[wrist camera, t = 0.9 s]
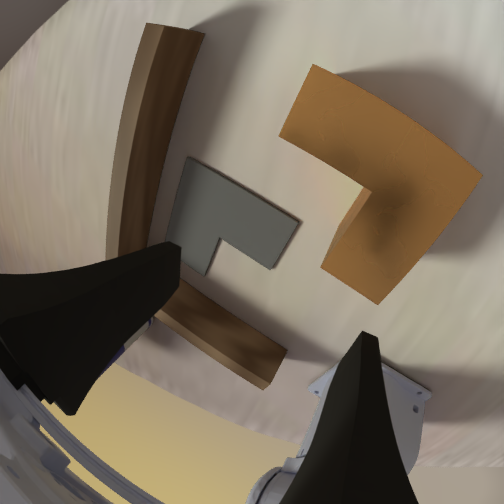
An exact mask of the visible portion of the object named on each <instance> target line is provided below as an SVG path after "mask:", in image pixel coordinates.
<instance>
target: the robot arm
mask: <svg viewBox="0 0 504 504" xmlns="http://www.w3.org/2000/svg"><path fill="white" fill-rule="evenodd" d="M181 249H182V247H181V246H178V245H176V244H174V243H172V242H170V241H167V242H163V243H160V244H157V245H153V246H150V247H147V248H144V249H141V250H138V251H135V252H132V253H129V254H126V255H123V256H120V257H116V258H113V259H109V260H106V261H102V262H99V263H95V264H92V265H88V266H83V267H79V268H74V269H69V270H62V271H55V272H47V273H37V274H0V504H113V503H112V502H110V501H109V500H107V499H106V498H105V497H103V496H102V495H101V494H99V493H98V492H97V491H95V490H94V489H93V488H91V487H90V486H89V485H87V484H86V483H85V482H84V481H82V480H81V479H80V478H79V477H78V476H77V475H75V474H74V473H73V472H72V471H71V470H69V469H68V468H67V466H68V465H69V463H70V459H69V458H68V457H67V456H66V455H65V454H64V453H63V452H62V451H61V450H60V449H59V448H58V447H57V446H56V445H55V444H54V443H53V442H52V441H51V440H50V439H49V438H47V437H46V436H45V435H44V434H43V433H42V432H41V431H40V429H39V428H40V425H41V426H42V427H43V428H44V429H45V430H46V431H47V432H48V433H49V434H50V435H51V436H52V437H53V438H54V439H55V440H56V441H57V442H58V443H59V444H60V445H61V446H62V447H63V448H64V449H65V450H66V451H67V452H68V453H69V454H70V455H71V456H72V457H74V459H76V460H77V461H78V462H79V463H80V464H81V465H82V466H83V467H84V468H86V469H87V470H88V471H89V472H91V473H92V474H93V475H94V476H95V477H96V478H98V479H99V480H100V481H101V482H103V483H104V484H105V485H107V486H108V487H109V488H110V489H112V490H113V491H114V492H116V493H117V494H119V495H120V496H121V497H123V498H124V499H126V500H127V501H128V502H130V503H132V504H164V503H163V502H161V501H159V500H157V499H156V498H154V497H153V496H151V495H150V494H148V493H146V492H145V491H143V490H142V489H140V488H139V487H138V486H136V485H135V484H133V483H132V482H130V481H129V480H127V479H126V478H125V477H123V476H122V475H121V474H119V473H118V472H117V471H115V470H114V469H113V468H111V467H110V466H109V465H107V464H106V463H105V462H104V461H102V460H101V459H100V458H99V457H97V456H96V455H95V454H94V453H93V452H92V451H90V450H89V449H88V448H87V447H86V446H84V445H83V444H82V443H81V442H80V441H79V440H78V439H77V438H76V437H75V436H73V435H72V434H71V433H70V432H69V431H68V430H67V429H66V428H65V427H64V426H63V425H62V424H61V423H60V422H59V421H58V420H57V419H56V418H55V417H54V416H53V415H52V414H51V413H50V412H49V411H48V409H46V407H45V406H44V405H43V404H42V403H41V401H42V400H43V399H45V400H46V401H47V402H48V403H49V404H52V403H53V402H54V403H55V404H56V405H57V406H58V407H59V408H60V409H61V410H62V411H63V412H64V413H65V414H66V415H69V416H71V415H75V414H76V412H77V410H78V408H79V407H80V405H81V403H82V401H83V400H84V398H85V397H86V395H87V393H88V392H89V390H90V389H91V387H92V385H93V384H94V383H95V381H96V380H97V378H98V377H99V375H100V374H101V373H102V371H103V370H104V369H105V367H106V366H107V365H108V363H109V362H110V361H111V360H112V358H113V357H114V356H115V355H116V353H117V352H118V351H119V350H120V348H121V347H122V346H123V345H124V344H125V343H126V342H127V341H128V340H129V339H130V338H131V337H132V336H133V335H134V334H135V333H136V332H137V331H138V330H139V329H140V328H141V327H142V326H143V325H144V324H145V323H146V322H147V321H148V320H150V319H151V318H152V317H153V316H154V315H155V314H156V313H157V312H158V311H159V310H160V309H161V308H162V307H163V306H164V305H165V304H166V303H167V301H168V300H169V299H170V298H171V296H172V295H173V294H174V293H175V291H176V290H177V289H178V287H179V284H180V265H181ZM308 390H309V391H310V392H311V393H313V394H315V395H317V396H319V397H320V400H319V403H318V405H317V408H316V410H315V413H314V416H313V418H312V421H311V423H310V425H309V428H308V430H307V433H306V435H305V438H304V440H303V442H302V445H301V447H300V449H299V451H298V454H297V456H296V458H289V457H288V458H287V459H286V461H285V463H284V465H283V467H275V468H273V469H271V470H269V471H268V472H267V473H266V474H264V475H263V476H262V477H261V478H260V479H259V480H258V481H257V482H256V483H255V485H254V486H253V488H252V489H251V491H250V493H249V495H248V498H247V501H246V504H419V503H418V501H417V499H416V496H415V494H414V492H413V490H412V487H411V484H410V482H409V479H408V476H407V475H408V474H409V473H410V471H411V470H412V468H413V466H414V464H415V462H416V460H417V457H418V454H419V449H420V442H421V435H422V427H423V418H424V408H425V401H427V400H429V399H430V398H431V397H432V393H431V392H430V391H429V390H427V389H425V388H423V387H422V386H420V385H418V384H417V383H415V382H413V381H412V380H410V379H408V378H407V377H405V376H403V375H402V374H400V373H398V372H397V371H395V370H393V369H392V368H390V367H388V366H387V365H385V364H383V363H382V362H381V356H380V349H379V341H378V337H376V336H373V335H371V334H369V333H366V332H364V331H362V332H361V333H360V335H359V336H358V337H357V339H356V340H355V342H354V343H353V345H352V346H351V347H350V349H349V350H348V352H347V353H346V354H345V356H344V357H343V358H342V360H341V361H339V362H338V363H337V364H336V365H334V366H333V367H332V368H331V369H329V370H328V371H327V372H326V373H324V374H323V375H322V376H320V377H319V378H318V379H317V380H315V381H314V382H313V383H311V384H310V385H309V386H308Z"/></svg>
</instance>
